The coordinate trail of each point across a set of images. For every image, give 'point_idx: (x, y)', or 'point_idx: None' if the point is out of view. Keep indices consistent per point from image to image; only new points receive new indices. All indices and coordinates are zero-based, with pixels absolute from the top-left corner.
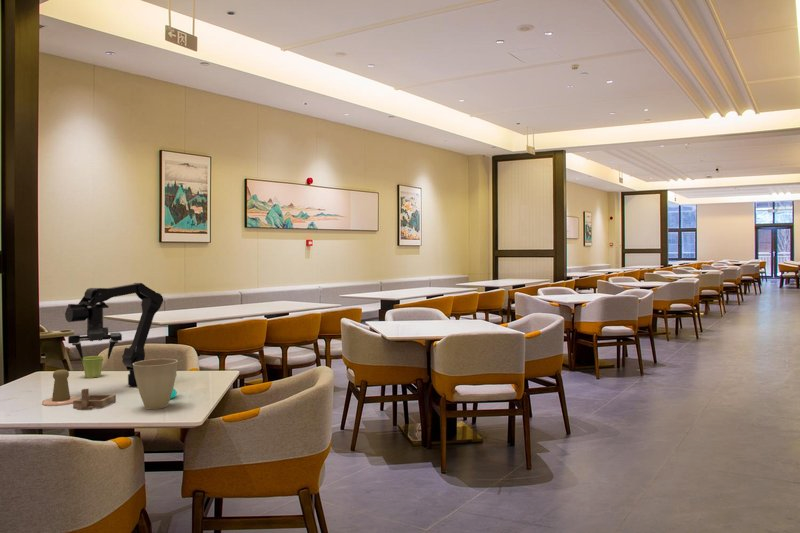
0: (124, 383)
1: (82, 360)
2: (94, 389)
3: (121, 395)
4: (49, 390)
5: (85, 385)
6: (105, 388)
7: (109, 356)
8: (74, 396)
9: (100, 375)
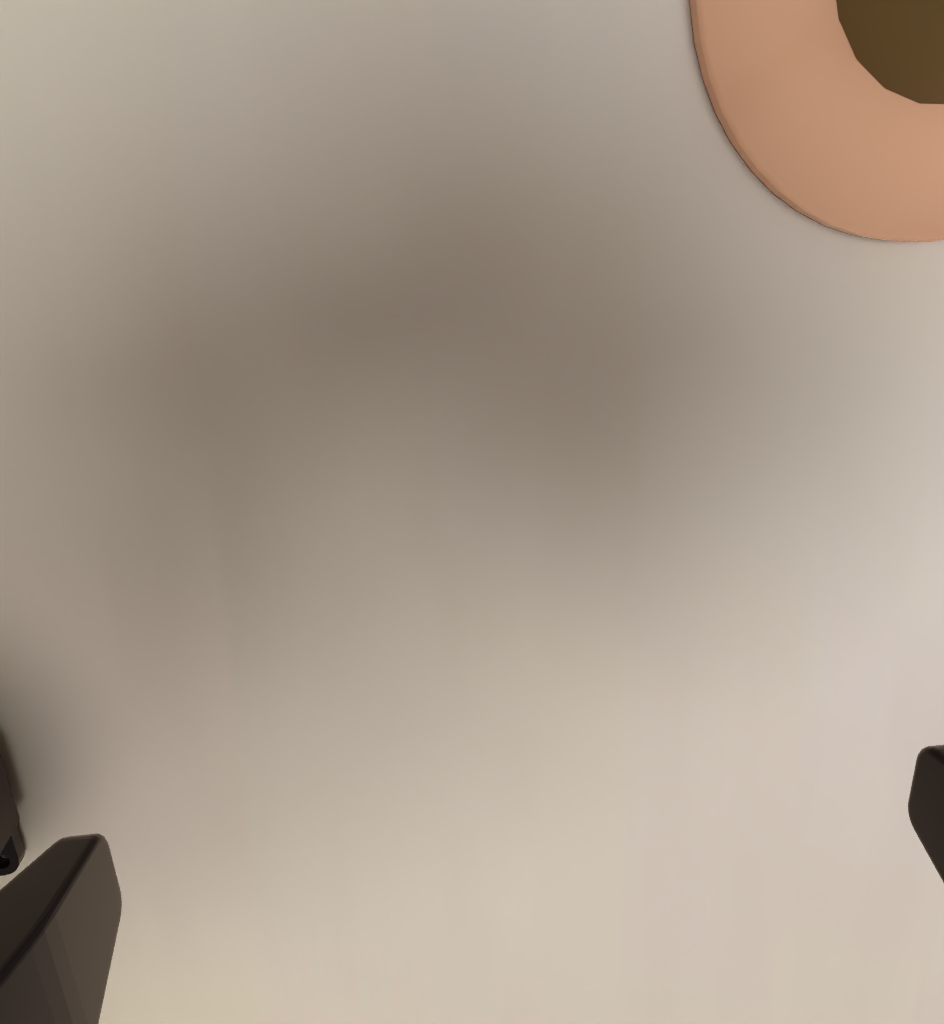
0: None
1: (941, 746)
2: (464, 716)
3: (6, 50)
4: None
5: (564, 968)
6: (326, 729)
7: (2, 900)
8: (755, 157)
9: None
